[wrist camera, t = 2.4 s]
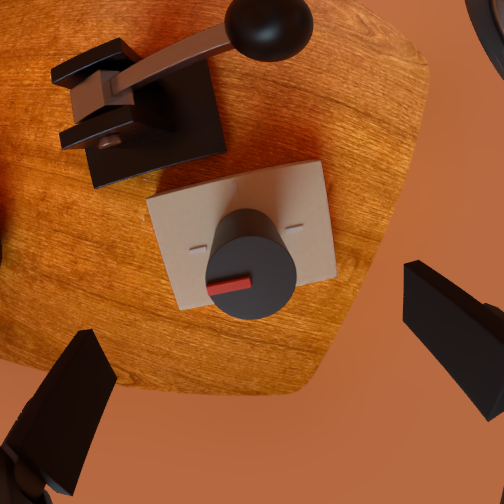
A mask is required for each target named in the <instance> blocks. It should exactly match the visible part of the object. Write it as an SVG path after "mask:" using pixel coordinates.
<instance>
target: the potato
mask: <svg viewBox="0 0 504 504" xmlns="http://www.w3.org/2000/svg"><path fill="white" fill-rule="evenodd" d="M1 261H2V244H1V240H0V266H1Z"/></svg>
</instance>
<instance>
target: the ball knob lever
mask: <svg viewBox="0 0 504 504" xmlns="http://www.w3.org/2000/svg"><path fill="white" fill-rule="evenodd" d="M312 33H313V17H312V14H311V11H310V9H309V7H308V5H307V4H306V3H305V2H304V0H233V1H232V2H231V4H230V5H229V7H228V9H227V11H226V14H225V20H224V23H221V24H219V25H216V26H213V27H211V28H208V29H206V30H203V31H201V32H199V33H196V34H194V35H192V36H189V37H187V38H185V39H183V40H180V41H178V42H176V43H174V44H172V45H170V46H168V47H166V48H164V49H162V50H160V51H158V52H156V53H154V54H152V55H150V56H148V57H146V58H144V59H142V60H141V61H139V62H137V63H135V64H133V65H132V66H130V67H128V68H127V69H125V70H123V71H114V70H97V71H96V72H94V73H93V74H92V75H90V76H89V77H87V78H86V79H85V80H83V81H82V82H81V83H79V84H78V85H77V86H75V87H74V88H73V89H71V90H70V96H71V103H72V110H73V116H74V122H75V124H80V123H82V122H85V121H87V120H89V119H92V118H94V117H96V116H99V115H101V114H104V113H106V112H109V111H112V110H114V109H117V108H120V107H122V106H125V105H128V104H131V105H135V103H134V98H133V93H132V92H133V91H135V90H137V89H139V88H141V87H143V86H145V85H147V84H149V83H151V82H153V81H155V80H157V79H159V78H162V77H164V76H166V75H168V74H170V73H173V72H175V71H177V70H180V69H182V68H184V67H187V66H189V65H191V64H194V63H196V62H199V61H202V60H204V59H207V58H209V57H212V56H215V55H218V54H220V53H223V52H226V51H229V50H232V49H236V50H238V51H239V52H240V53H241V54H243V55H245V56H246V57H248V58H251V59H253V60H257V61H262V62H278V61H283V60H286V59H289V58H291V57H293V56H295V55H296V54H298V53H299V52H301V51H302V50H303V49H304V48H305V46H306V45H307V44H308V42H309V40H310V38H311V36H312Z"/></svg>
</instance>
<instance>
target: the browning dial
mask: <svg viewBox="0 0 504 504" xmlns="http://www.w3.org/2000/svg"><path fill="white" fill-rule="evenodd" d="M296 282H297V272H296V266H295V263H294V261H293V259H292V257H291V255H290V253H289V251H288V249H287V247H286V246H285V244H284V242H283V240H282V238H281V236H280V234H279V233H278V231H277V229H276V227H275V225H274V224H273V222H272V221H271V219H270V218H269V217H268V216H267V215H265V214H264V213H262V212H260V211H258V210H255V209H249V208H243V209H238V210H235V211H232V212H230V213H229V214H227V215H226V216H225V217H224V218H223V219H222V220H221V221H220V222H219V224H218V226H217V228H216V230H215V234H214V238H213V243H212V247H211V251H210V255H209V260H208V264H207V268H206V274H205V283H206V289H207V293H208V296H210V298H211V299H212V301H213V302H214V304H215V305H216V306H217V307H218V308H219V309H221V310H222V311H223V312H225V313H227V314H228V315H231V316H233V317H236V318H240V319H247V320H254V319H261V318H264V317H267V316H270V315H272V314H274V313H276V312H277V311H279V310H280V309H281V308H282V307H283V306H285V304H286V303H287V302H288V301H289V299H290V298H291V296H292V294H293V292H294V290H295V287H296Z"/></svg>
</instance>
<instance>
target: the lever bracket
mask: <svg viewBox="0 0 504 504" xmlns="http://www.w3.org/2000/svg"><path fill="white" fill-rule="evenodd" d="M143 59H144V58H143ZM141 60H142V58H141V57H140V56H139V55H138V54H137V53H136V52H135V51H134V50H133V49H132V48H130V47H129V46H128V45H127V44H126V43H125V42H124V41H123V40H122V39H121V38H116V39H114V40H111V41H109V42H106V43H104V44H102V45H99V46H97V47H95V48H92V49H90V50H88V51H86V52H84V53H82V54H79V55H77V56H75V57H73V58H71V59H69V60H67V61H65V62H63V63H62V64H60V65H58V66H56V67H54V68H52V69H51V79H52V84H55V85H58V86H61V87H65V88H68V89H73V88H74V87H75V86H77V85H78V84H79V83H81V82H82V81H83V80H85V79H86V78H87V77H89V76H90V75H92V74H93V73H94V72H96V71H97V70H114V71H123V70H125V69H127V68H128V67H130V66H132V65H133V64H135V63H137V62H139V61H141ZM132 93H133V98H134V103H135V105H131V104H128V105H125V106H122V107H120V108H117V109H114V110H112V111H109V112H106V113H104V114H101V115H99V116H96V117H94V118H92V119H89V120H87V121H85V122H82V123H80V124H78V125H75V126H73V127H71V128H69V129H67V130H64V131H62V132H60V133H59V137H60V142H61V147H62V150H67V149H85V152H86V157H87V161H88V166H89V170H90V174H91V178H92V182H93V186H94V189H98V188H101V187H104V186H107V185H110V184H113V183H116V182H119V181H122V180H125V179H128V178H132V177H135V176H138V175H141V174H145V173H148V172H152V171H155V170H159V169H162V168H166V167H169V166H173V165H177V164H180V163H184V162H188V161H192V160H196V159H200V158H204V157H208V156H212V155H217V154H221V153H225V152H227V148H226V144H225V139H224V135H223V130H222V125H221V121H220V116H219V112H218V107H217V103H216V98H215V94H214V89H213V85H212V80H211V75H210V71H209V66H208V62H207V59H204V60H202V61H199V62H196V63H194V64H191V65H189V66H187V67H184V68H182V69H180V70H177V71H175V72H173V73H170V74H168V75H166V76H164V77H162V78H159V79H157V80H155V81H153V82H151V83H149V84H147V85H145V86H143V87H141V88H139V89H137V90H135V91H133V92H132Z"/></svg>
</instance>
